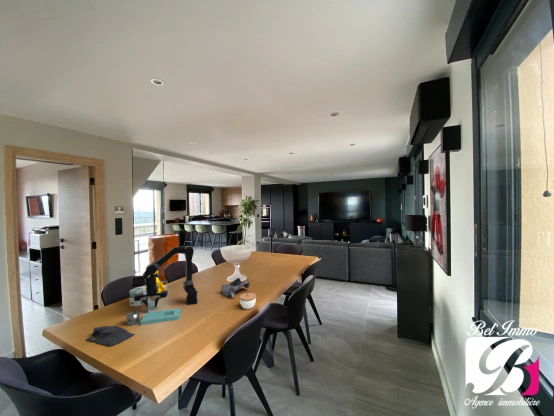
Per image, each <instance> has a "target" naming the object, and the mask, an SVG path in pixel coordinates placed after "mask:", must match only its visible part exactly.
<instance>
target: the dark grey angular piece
mask: <svg viewBox="0 0 554 416" xmlns="http://www.w3.org/2000/svg"><path fill="white" fill-rule="evenodd" d="M249 287H250V281H249V280H248V279H247V280H244V281H241V279H240V278H239V277H237V278H236V279H234V280H233V281H231V282H230V283H226V284H221V289H220V290H221V294H222V295H223V296H224V297H227V298H228V297H229V296H231V297H232V298H233V299H235V292H236V291H238V290H240V289H242V288H245V289H249Z"/></svg>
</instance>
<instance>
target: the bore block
mask: <svg viewBox="0 0 554 416" xmlns="http://www.w3.org/2000/svg"><path fill="white" fill-rule="evenodd" d="M181 313H182V308H181V307H179V308H178V307H177V308H172V309H166V310H165V309H164V310H163V309H162V310H158V311H157V310H156V312H149V313H148V312H146V313H145V314H144V315H143V317H142V319H140V322H139V323H140V326H145V325H151V324H152V325H153V324H158V323H164V322H171V321H176V320H177V321H178V320H179V319H180V317H181V316H180V315H181Z"/></svg>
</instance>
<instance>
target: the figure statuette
mask: <svg viewBox="0 0 554 416" xmlns="http://www.w3.org/2000/svg"><path fill="white" fill-rule="evenodd" d="M158 270H159V269H158ZM158 270H157V271H156V272H155V274H156V273H157V274H159V271H158ZM153 275H154V274H153ZM156 284H157V286H158V292H157V293H161V291H164V290H166V288H165V285H164V283H163V282H162V281H160V279H159V277H156ZM153 298H156V296H155V297H153Z"/></svg>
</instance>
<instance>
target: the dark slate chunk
mask: <svg viewBox="0 0 554 416" xmlns="http://www.w3.org/2000/svg"><path fill="white" fill-rule="evenodd" d="M135 335H136V334H135V333H132V332H130V331H128V330H127V329H125V328H124V327H121V326H119V325H110V326H109V325H104V326H103V325H101V326H100V327H94V328H93V332H92V334H91V336H89V337H88V338H86V339H84V340H85V342H88V343H93V344H97V345H102V346H108V347H113V346H116V345H118V344H120V343H122V342H124V341H127V340H129V339H131V338H132V337H134V336H135Z"/></svg>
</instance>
